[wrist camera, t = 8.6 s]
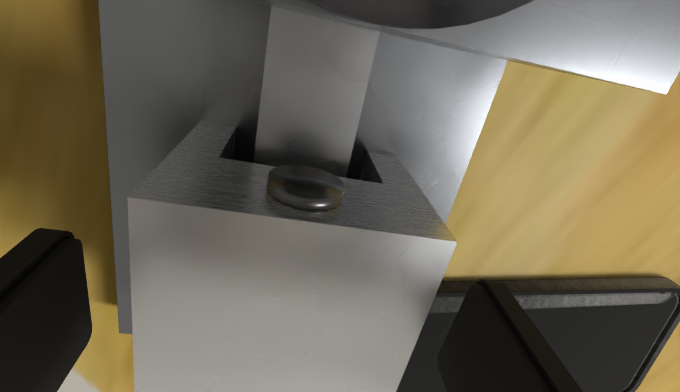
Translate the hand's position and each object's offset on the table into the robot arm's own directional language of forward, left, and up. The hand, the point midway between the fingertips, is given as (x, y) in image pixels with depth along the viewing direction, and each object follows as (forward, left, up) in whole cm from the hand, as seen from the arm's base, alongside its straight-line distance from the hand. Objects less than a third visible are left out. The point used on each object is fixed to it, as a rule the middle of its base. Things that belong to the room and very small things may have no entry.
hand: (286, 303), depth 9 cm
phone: (+6, +12, -6) cm, 14 cm away
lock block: (0, 0, -4) cm, 4 cm away
